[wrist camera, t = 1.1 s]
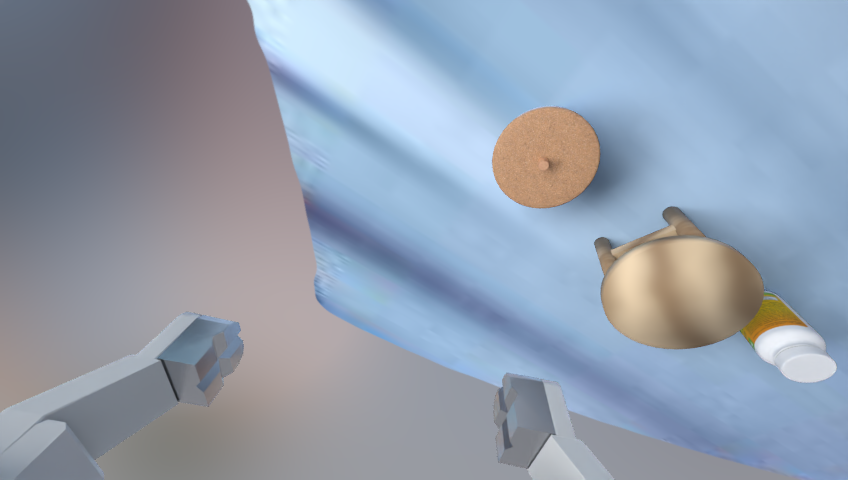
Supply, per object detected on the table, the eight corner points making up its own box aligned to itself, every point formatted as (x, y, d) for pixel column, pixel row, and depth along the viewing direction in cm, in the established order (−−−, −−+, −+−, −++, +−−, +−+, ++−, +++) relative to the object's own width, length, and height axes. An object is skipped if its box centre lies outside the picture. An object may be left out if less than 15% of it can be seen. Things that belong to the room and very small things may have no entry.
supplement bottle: (714, 308, 44) (757, 368, 35) (755, 281, 40) (814, 339, 32) (751, 330, 43) (803, 395, 35) (795, 304, 40) (865, 369, 32)
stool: (687, 183, 38) (730, 217, 29) (735, 272, 41) (786, 326, 32) (571, 236, 45) (579, 276, 36) (619, 309, 48) (636, 361, 39)
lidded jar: (559, 79, 37) (566, 83, 29) (607, 155, 39) (625, 178, 31) (482, 137, 42) (470, 154, 34) (528, 201, 44) (526, 231, 36)
